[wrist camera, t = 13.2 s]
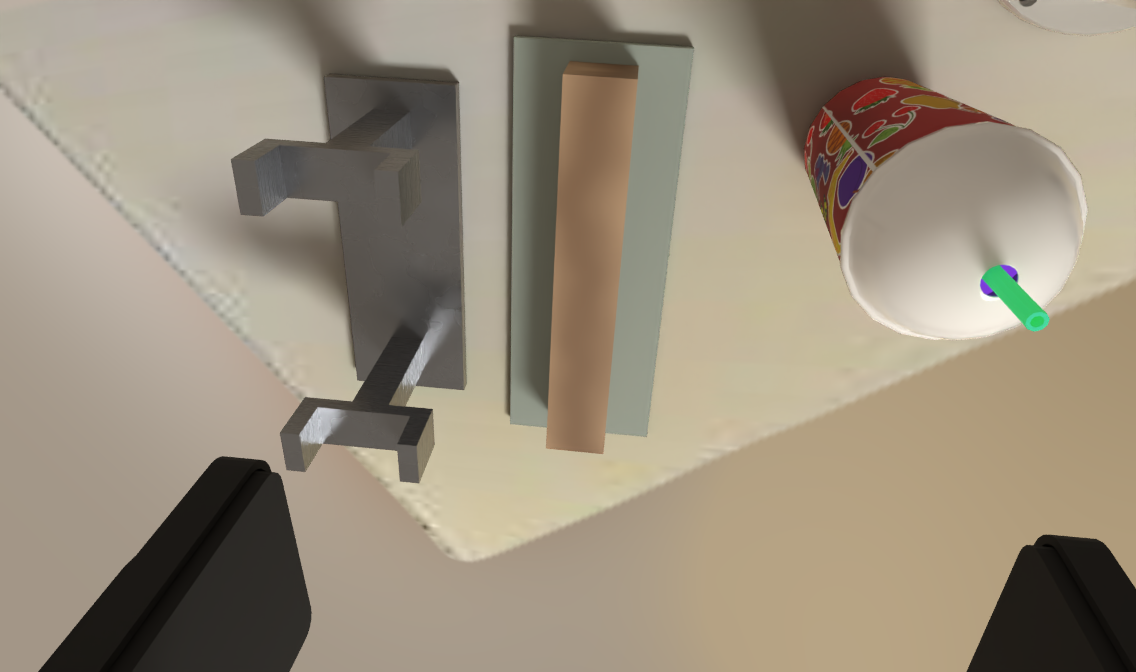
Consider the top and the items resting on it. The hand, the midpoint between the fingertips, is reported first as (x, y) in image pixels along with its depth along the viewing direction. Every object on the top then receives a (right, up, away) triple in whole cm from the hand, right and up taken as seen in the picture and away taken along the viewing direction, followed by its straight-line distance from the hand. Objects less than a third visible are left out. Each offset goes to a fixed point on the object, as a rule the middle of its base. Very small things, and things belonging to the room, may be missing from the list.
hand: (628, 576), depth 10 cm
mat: (0, +8, +34) cm, 35 cm away
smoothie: (+15, +13, +30) cm, 36 cm away
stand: (-11, +9, +35) cm, 37 cm away
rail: (0, +7, +34) cm, 35 cm away
